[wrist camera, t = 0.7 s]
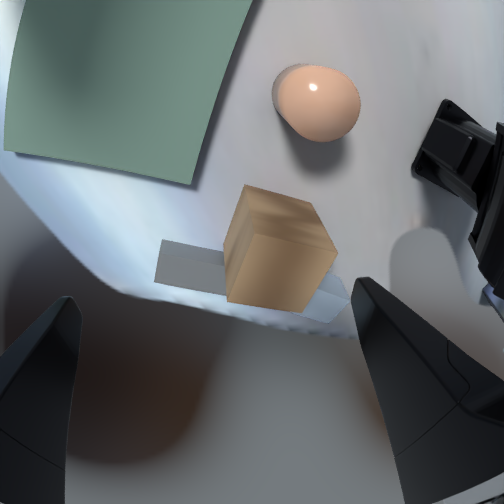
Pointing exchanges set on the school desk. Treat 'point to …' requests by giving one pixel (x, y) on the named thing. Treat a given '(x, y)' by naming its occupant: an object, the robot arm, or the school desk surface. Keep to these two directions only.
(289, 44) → the school desk surface
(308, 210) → the walnut block
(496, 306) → the small box
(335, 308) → the eraser block
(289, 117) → the peach rounded cylinder
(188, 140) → the mat
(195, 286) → the gray rectangular block
